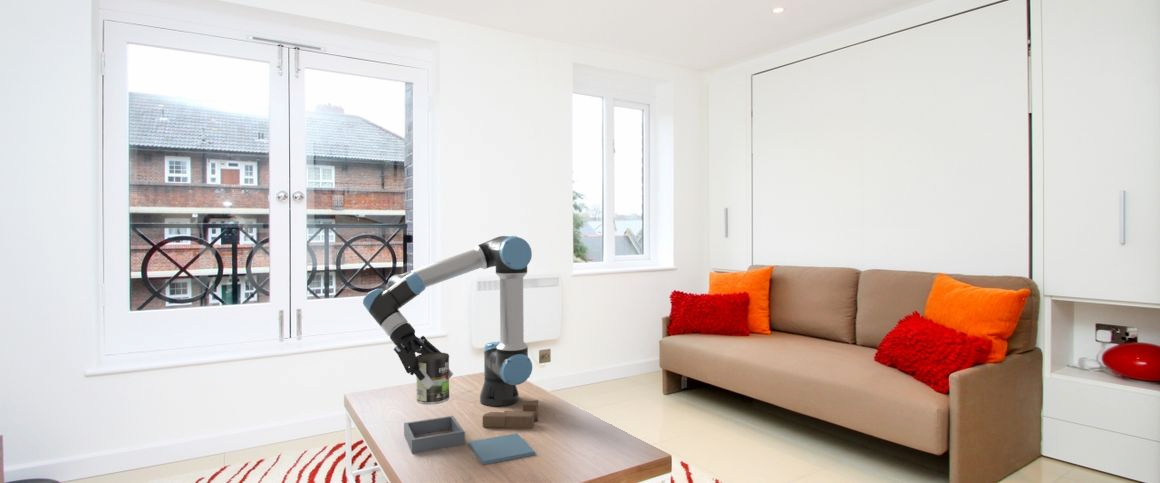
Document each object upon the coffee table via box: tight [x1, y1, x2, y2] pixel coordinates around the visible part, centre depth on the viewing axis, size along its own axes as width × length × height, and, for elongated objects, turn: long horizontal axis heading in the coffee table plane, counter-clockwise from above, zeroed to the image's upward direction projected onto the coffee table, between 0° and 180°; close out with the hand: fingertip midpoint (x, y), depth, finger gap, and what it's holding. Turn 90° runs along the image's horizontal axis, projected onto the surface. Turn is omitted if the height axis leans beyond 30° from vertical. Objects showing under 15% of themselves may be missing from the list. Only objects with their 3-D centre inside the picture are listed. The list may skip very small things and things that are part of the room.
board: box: [468, 432, 536, 466], centre depth 166 cm, size 16×16×1 cm
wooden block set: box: [482, 399, 539, 430], centre depth 192 cm, size 17×6×18 cm
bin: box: [403, 415, 466, 454], centre depth 174 cm, size 16×16×4 cm
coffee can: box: [415, 351, 450, 406], centre depth 173 cm, size 10×10×14 cm
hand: (441, 381), depth 172 cm, fingers closed on coffee can, 10 cm apart
